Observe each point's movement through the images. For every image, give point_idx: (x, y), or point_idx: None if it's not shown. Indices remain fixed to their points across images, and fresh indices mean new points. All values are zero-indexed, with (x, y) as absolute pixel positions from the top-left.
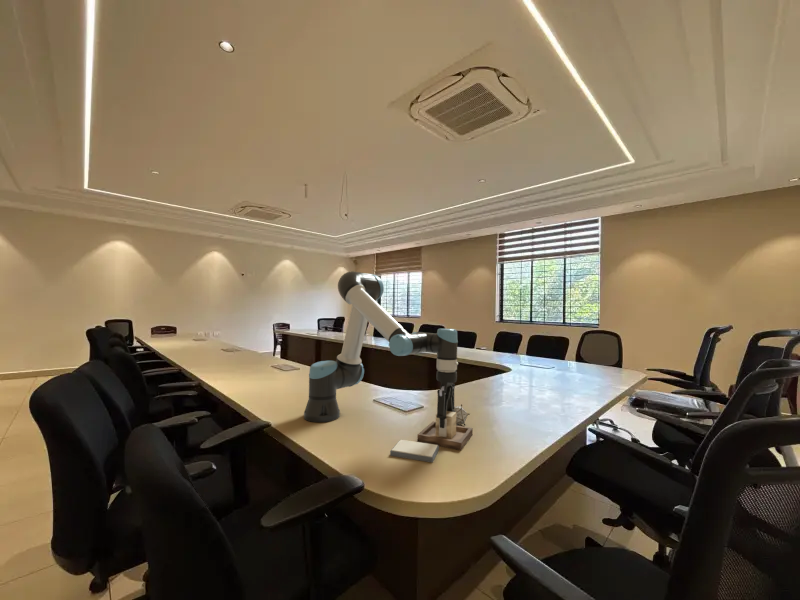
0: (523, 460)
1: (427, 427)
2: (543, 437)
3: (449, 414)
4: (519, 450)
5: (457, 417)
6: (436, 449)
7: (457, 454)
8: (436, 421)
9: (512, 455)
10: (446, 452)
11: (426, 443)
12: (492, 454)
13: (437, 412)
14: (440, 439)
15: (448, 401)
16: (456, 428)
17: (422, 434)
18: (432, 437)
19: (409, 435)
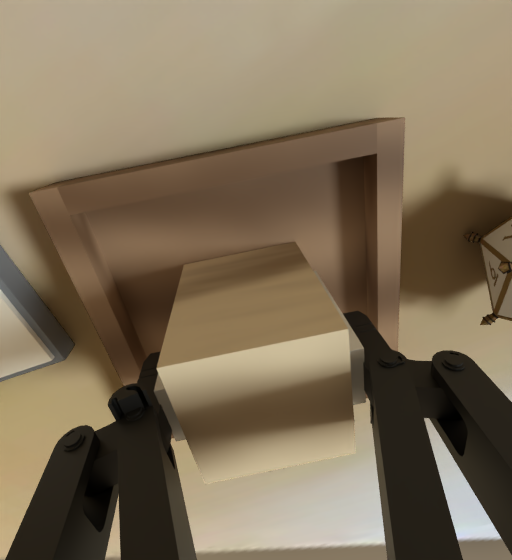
0: (243, 544)
1: (228, 168)
2: (477, 519)
3: (254, 448)
4: (315, 517)
5: (505, 293)
6: (10, 375)
7: (108, 418)
8: (172, 327)
9: (258, 519)
10: (83, 381)
11: (5, 305)
12: (218, 487)
13: (37, 493)
14: (109, 351)
15: (385, 523)
16: (372, 312)
17: (64, 225)
18: (85, 307)
19: (94, 46)
